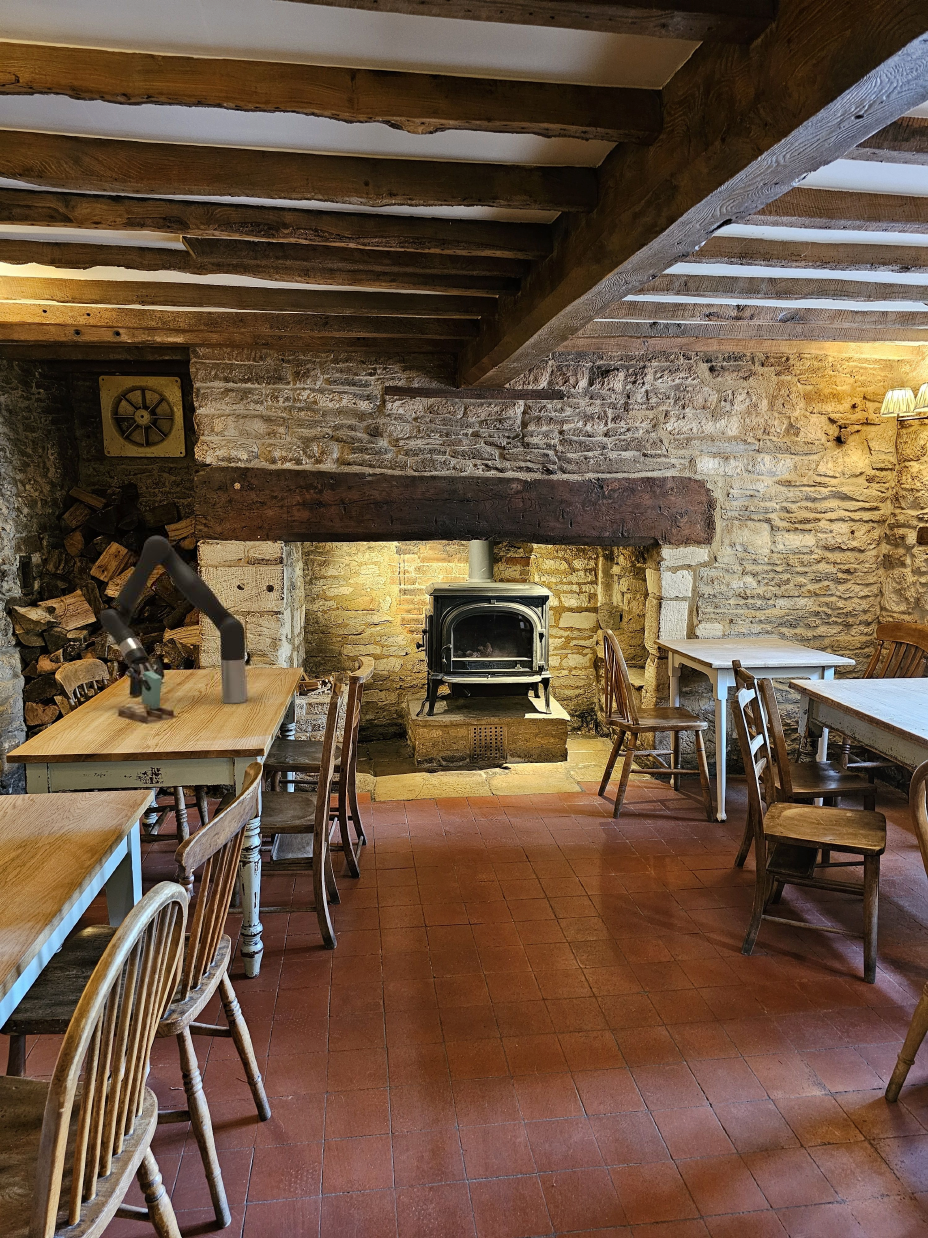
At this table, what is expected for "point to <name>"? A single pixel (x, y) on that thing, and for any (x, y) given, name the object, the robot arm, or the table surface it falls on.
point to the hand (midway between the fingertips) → (154, 689)
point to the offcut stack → (136, 709)
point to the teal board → (152, 690)
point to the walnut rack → (149, 715)
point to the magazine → (137, 688)
